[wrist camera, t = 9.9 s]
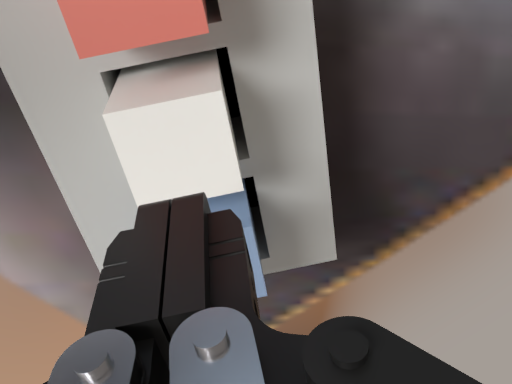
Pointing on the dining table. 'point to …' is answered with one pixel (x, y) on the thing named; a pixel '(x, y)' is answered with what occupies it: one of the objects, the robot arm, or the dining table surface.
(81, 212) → the button panel
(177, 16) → the red key
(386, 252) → the dining table surface
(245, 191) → the blue key
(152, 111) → the white key
